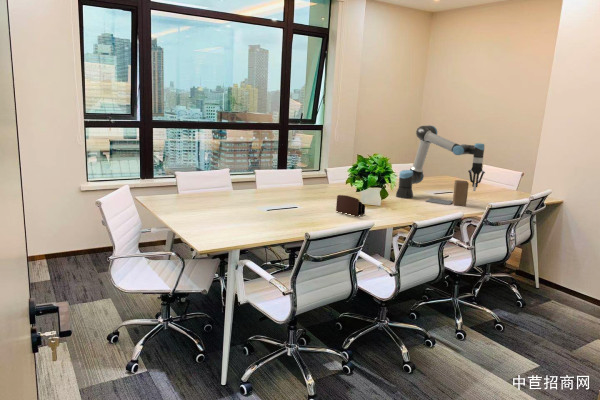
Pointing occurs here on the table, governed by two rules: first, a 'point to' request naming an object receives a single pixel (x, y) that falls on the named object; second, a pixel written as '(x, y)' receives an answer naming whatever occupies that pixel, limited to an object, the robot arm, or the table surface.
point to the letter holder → (349, 205)
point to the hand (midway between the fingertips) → (474, 190)
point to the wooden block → (460, 193)
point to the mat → (439, 201)
